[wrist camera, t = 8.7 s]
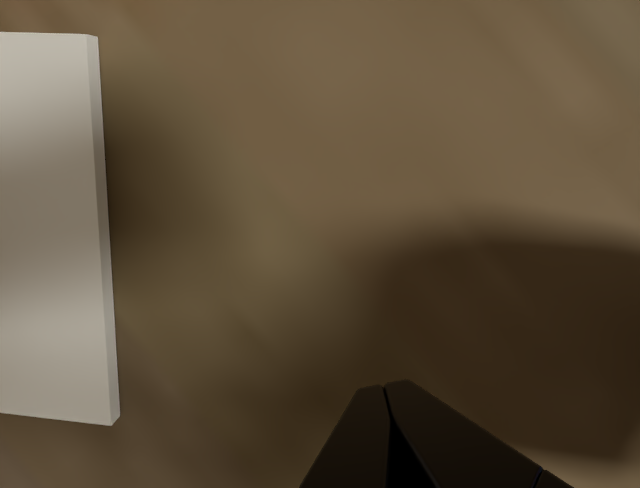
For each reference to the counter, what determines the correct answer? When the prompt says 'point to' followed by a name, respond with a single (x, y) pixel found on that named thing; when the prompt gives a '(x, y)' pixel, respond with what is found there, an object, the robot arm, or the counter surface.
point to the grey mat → (54, 233)
